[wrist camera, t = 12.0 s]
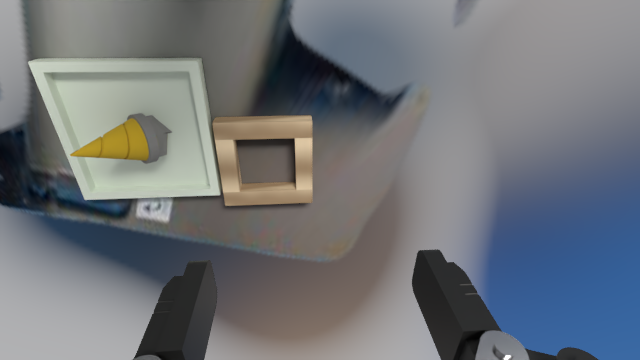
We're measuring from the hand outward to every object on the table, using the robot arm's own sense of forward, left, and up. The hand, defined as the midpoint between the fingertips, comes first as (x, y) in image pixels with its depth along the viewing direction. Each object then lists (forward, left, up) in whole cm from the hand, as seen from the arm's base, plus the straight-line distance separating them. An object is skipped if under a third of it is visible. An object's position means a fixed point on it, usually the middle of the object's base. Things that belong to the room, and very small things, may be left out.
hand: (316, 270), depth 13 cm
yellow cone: (+5, -18, -28) cm, 33 cm away
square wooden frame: (+9, -4, -28) cm, 30 cm away
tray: (+5, -18, -28) cm, 34 cm away
